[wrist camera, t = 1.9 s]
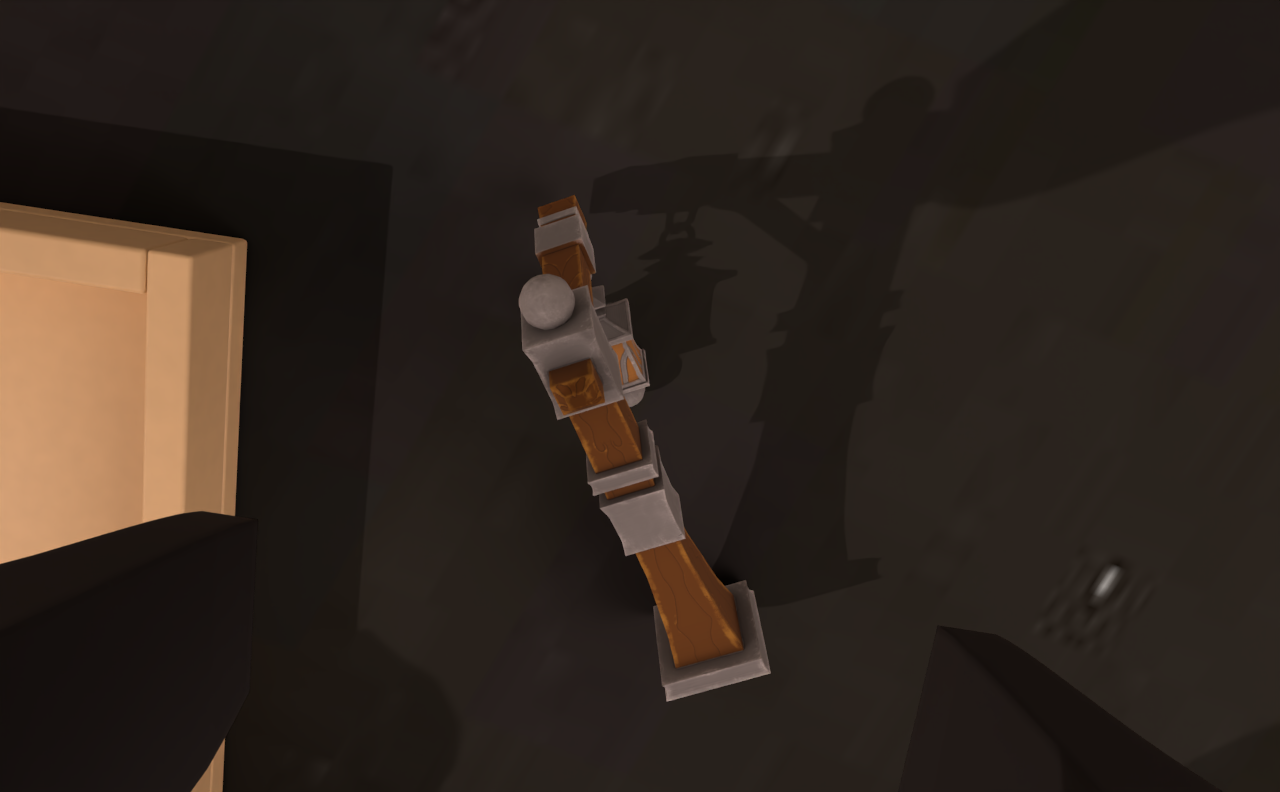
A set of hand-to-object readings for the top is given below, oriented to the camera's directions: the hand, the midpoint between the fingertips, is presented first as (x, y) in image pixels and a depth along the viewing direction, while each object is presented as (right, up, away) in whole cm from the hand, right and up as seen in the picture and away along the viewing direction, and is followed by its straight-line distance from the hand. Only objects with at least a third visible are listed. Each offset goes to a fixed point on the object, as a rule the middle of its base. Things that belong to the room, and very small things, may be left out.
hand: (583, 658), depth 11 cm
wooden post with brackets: (+1, +2, +8) cm, 8 cm away
